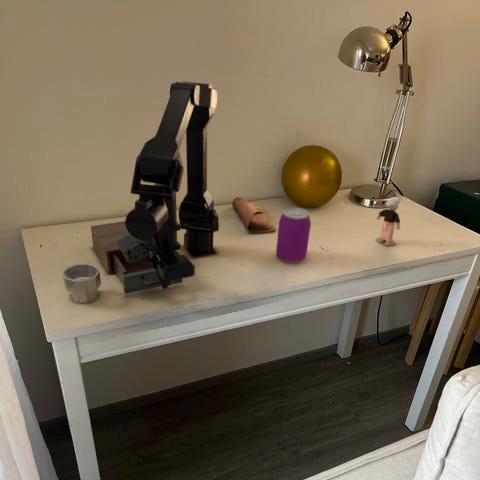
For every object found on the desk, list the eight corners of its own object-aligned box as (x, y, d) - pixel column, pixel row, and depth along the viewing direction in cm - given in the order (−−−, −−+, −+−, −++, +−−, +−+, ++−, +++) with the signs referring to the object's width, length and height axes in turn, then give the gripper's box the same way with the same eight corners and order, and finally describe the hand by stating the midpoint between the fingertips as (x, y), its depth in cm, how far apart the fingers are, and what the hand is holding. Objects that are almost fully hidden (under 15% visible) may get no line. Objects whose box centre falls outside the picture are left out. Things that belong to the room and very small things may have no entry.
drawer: (189, 290, 111) (188, 273, 109) (130, 303, 106) (129, 286, 103) (162, 256, 124) (161, 240, 121) (108, 266, 118) (106, 250, 116)
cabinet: (167, 262, 123) (166, 240, 119) (108, 274, 117) (106, 251, 114) (148, 238, 133) (146, 217, 130) (93, 247, 127) (90, 226, 124)
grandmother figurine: (400, 244, 138) (411, 199, 130) (393, 248, 135) (404, 203, 128) (375, 234, 142) (385, 191, 134) (368, 238, 139) (377, 194, 132)
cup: (97, 284, 113) (93, 261, 109) (105, 301, 108) (102, 277, 104) (64, 291, 110) (59, 267, 107) (71, 308, 105) (67, 283, 101)
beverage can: (279, 265, 125) (284, 219, 118) (272, 250, 131) (276, 206, 124) (309, 263, 126) (316, 218, 119) (301, 249, 132) (306, 206, 125)
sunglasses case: (276, 229, 140) (266, 211, 136) (255, 243, 141) (244, 225, 136) (258, 205, 154) (248, 187, 150) (238, 217, 155) (228, 200, 151)
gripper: (105, 205, 99) (113, 274, 108) (135, 245, 86) (141, 320, 95) (159, 198, 104) (163, 265, 112) (195, 235, 90) (196, 307, 99)
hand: (164, 288), depth 105 cm, fingers closed
